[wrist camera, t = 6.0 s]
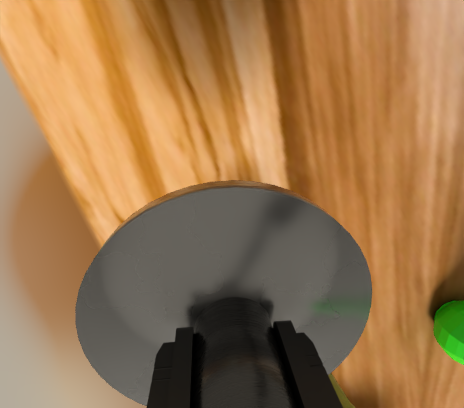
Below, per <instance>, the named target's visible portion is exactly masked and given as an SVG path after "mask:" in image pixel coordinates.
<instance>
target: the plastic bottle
mask: <svg viewBox="0 0 464 408" xmlns="http://www.w3.org/2000/svg"><path fill="white" fill-rule="evenodd" d="M434 320H435V322H434V329H433V331H434V336H435V338H436V340H437V342H438V343H439V345H440V346H441V347H442V348H443V350H444V351H445V352H446V353H447V354H448V355H449V356H450V357H451V358H452V359H454V360H455V361H457V362H459V363H461V364H463V365H464V300H463V301H454V300H453V301H451V302H448V303H446V304H443V305H442V306H441V307H440V308H439V309H438V310H437V311H436V313H435V317H434Z"/></svg>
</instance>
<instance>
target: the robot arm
mask: <svg viewBox="0 0 464 408" xmlns="http://www.w3.org/2000/svg"><path fill="white" fill-rule="evenodd" d="M273 331H274V334H275V337H276V340H277V344H278V347H279V350H280V353H281V357H282V360H283V363H284V366H285V370H286V373H287V376H288V379H289V383H290V386H291V389H292V392H293V396H294V399H295V402H296V405H297V408H343V406H342V404H341V402H340V400H339V398H338V396H337V394H336V391H335V389H334V387H333V385H332V383H331V380H330V378H329V376H328V374H327V372H326V370H325V367H323V363H322V361H321V359H320V357H319V354H318V352H317V350H316V348H315V346H314V343H313V342H312V341H311V340H310V339H309V337H308V336H307V335H306V334H305V333H304V332H303V333H296V331H295V328H294V326H293V324H292V322H291V321H290V320H286V321H274V323H273ZM193 342H194V328H193V327H181V328H176V335H175V342H166V343H163V344H162V346H161V348H160V349H159V351H158V353H157V354H156V359H155V364H154V371H153V375H152V382H151V386H150V391H149V397H148V402H147V408H191V395H192V368H193Z"/></svg>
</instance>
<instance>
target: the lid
mask: <svg viewBox="0 0 464 408" xmlns="http://www.w3.org/2000/svg"><path fill="white" fill-rule="evenodd" d="M371 299H372V284H371V275H370V272H369V268H368V265H367V262H366V259H365V257H364V255H363V253H362V251H361V249H360V247H359V246H358V244H357V243H356V242H355V240H354V239H353V238H352V236H351V235H350V233H349V232H347V231H346V230H345V229H344V228H343V227H342V226H341V225H340V224H339V223H338V222H337V221H336V220H335V219H334V218H333V217H331V216H330V215H329V214H328V213H327V212H326V211H325V210H324V209H322V208H321V207H319V206H318V205H316V204H315V203H314V202H312V201H311V200H309V199H307V198H305V197H303V196H301V195H299V194H297V193H295V192H293V191H290V190H287V189H284V188H281V187H278V186H275V185H270V184H265V183H260V182H254V181H236V180H231V181H217V182H208V183H203V184H198V185H193V186H189V187H186V188H183V189H180V190H177V191H174V192H171V193H168V194H166V195H164V196H162V197H160V198H158V199H156V200H154V201H152V202H150V203H148V204H147V205H145V206H144V207H142V208H141V209H139V210H138V211H136V212H135V213H133V214H132V215H131V216H130V217H129V218H128V219H127V220H125V221H124V222H123V223H122V224H121V225H120V226H119V227H118V228H117V229H116V230H115V231H114V233H113V234H112V235H111V236H110V237H109V239H108V240H107V241H106V242H105V244H104V245H103V247H102V248H101V249H100V251H99V252H98V254H97V255H96V257H95V258H94V260H93V262H92V263H91V265H90V267H89V268H88V270H87V272H86V273H85V276H84V278H83V281H82V283H81V286H80V289H79V292H78V298H77V303H76V328H77V333H78V338H79V341H80V344H81V346H82V349H83V351H84V354H85V355H86V357H87V359H88V360H89V362H90V364H91V366H92V367H93V368H94V369H95V370H96V372H97V373H98V374H99V375H100V376H101V377H102V378H103V379H104V380H105V381H106V382H107V383H108V384H109V385H110V386H112V387H113V388H114V389H116V390H117V391H119V392H120V393H122V394H123V395H125V396H126V397H128V398H130V399H132V400H134V401H136V402H138V403H140V404H142V405H145V406H147V402H148V397H149V391H150V386H151V382H152V375H153V371H154V364H155V359H156V354H157V353H158V351H159V349H160V348H161V346H162V344H163V343H166V342H175V335H176V328H181V327H193V328H194V342H193V368H192V395H191V408H297V405H296V402H295V399H294V396H293V392H292V389H291V386H290V383H289V379H288V376H287V373H286V370H285V366H284V363H283V360H282V357H281V353H280V350H279V347H278V344H277V340H276V337H275V334H274V331H273V323H274V321H286V320H290V321H291V322H292V324H293V326H294V328H295V331H296V333H303V332H304V333H305V334H306V335H307V336H308V337H309V339H310V340H311V341H312V342H313V343H314V346H315V348H316V350H317V352H318V354H319V357H320V359H321V361H322V363H323V367H325V370H326V372H327V374H328V375H329V374H330V373H331V372H332V371H334V370H335V369H336V368H337V367H338V366H339V365H340V364H341V363H342V361H343V360H344V359H345V358H346V357H347V356H348V355H349V353H350V352H351V350H352V349H353V348H354V346H355V345H356V343H357V341H358V340H359V338H360V336H361V334H362V332H363V330H364V327H365V325H366V322H367V320H368V316H369V312H370V307H371Z"/></svg>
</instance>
